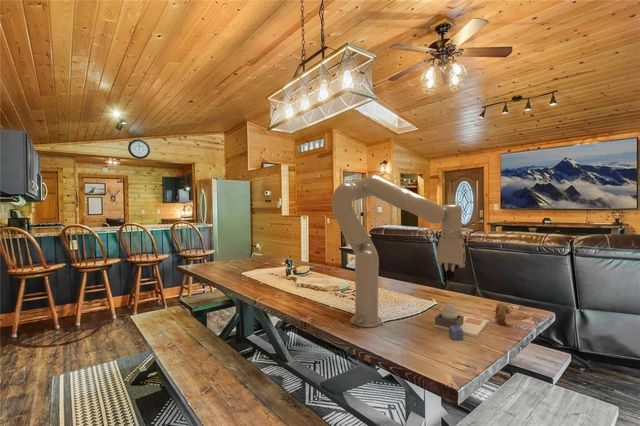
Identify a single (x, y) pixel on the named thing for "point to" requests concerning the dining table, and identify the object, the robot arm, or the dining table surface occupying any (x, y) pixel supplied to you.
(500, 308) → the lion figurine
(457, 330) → the decorative dice
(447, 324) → the game board
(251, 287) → the dining table surface
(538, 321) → the dining table surface
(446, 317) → the dome button
